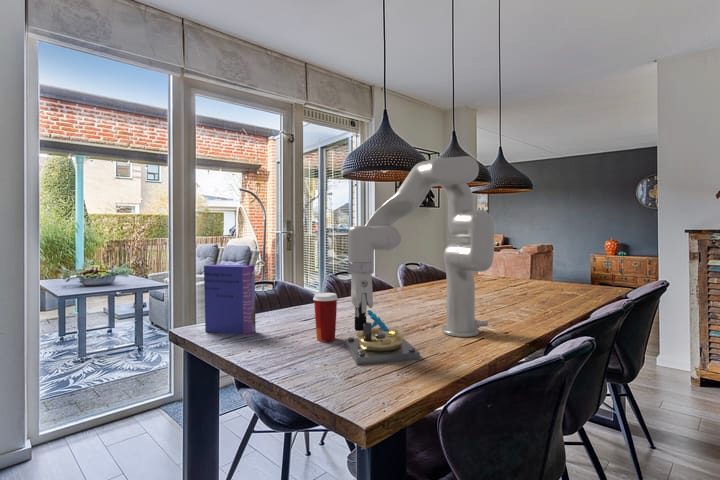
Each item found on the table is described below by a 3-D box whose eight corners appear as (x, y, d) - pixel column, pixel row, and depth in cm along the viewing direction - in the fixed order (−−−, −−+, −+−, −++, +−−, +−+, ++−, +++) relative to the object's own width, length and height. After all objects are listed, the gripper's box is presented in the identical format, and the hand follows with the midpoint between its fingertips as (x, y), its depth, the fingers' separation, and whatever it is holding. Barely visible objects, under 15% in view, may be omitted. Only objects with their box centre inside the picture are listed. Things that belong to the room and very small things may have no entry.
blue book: (255, 331, 142) (254, 264, 141) (248, 335, 137) (247, 266, 136) (213, 328, 147) (212, 264, 146) (205, 331, 142) (203, 265, 141)
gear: (388, 330, 135) (368, 309, 137) (376, 343, 135) (356, 321, 137) (391, 327, 146) (372, 307, 148) (379, 338, 146) (360, 318, 148)
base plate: (399, 341, 128) (399, 333, 128) (419, 359, 111) (419, 350, 111) (344, 345, 125) (344, 337, 124) (356, 364, 107) (356, 355, 107)
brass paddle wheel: (380, 335, 127) (380, 313, 127) (411, 344, 118) (411, 320, 117) (349, 344, 118) (348, 320, 118) (380, 354, 108) (380, 328, 108)
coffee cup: (342, 337, 133) (342, 293, 133) (330, 344, 126) (330, 297, 125) (321, 334, 137) (320, 291, 136) (308, 341, 129) (307, 295, 129)
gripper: (379, 270, 110) (378, 336, 110) (368, 265, 124) (367, 323, 125) (352, 270, 108) (352, 337, 109) (344, 265, 123) (343, 324, 123)
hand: (360, 330), depth 117 cm, fingers closed
